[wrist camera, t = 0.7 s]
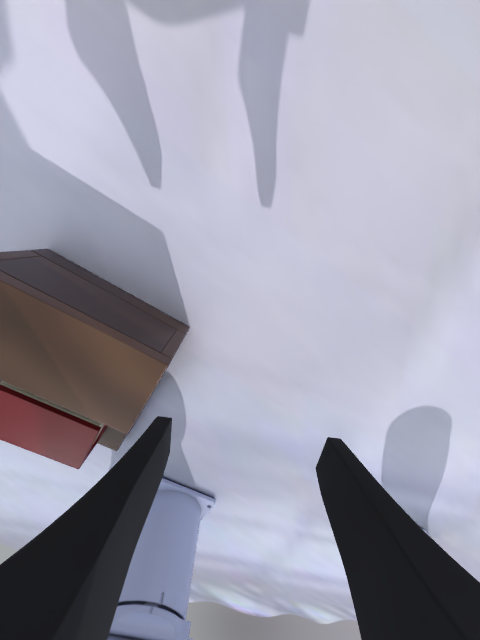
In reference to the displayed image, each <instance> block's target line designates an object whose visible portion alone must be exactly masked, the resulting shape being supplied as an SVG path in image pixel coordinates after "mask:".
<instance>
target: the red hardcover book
mask: <svg viewBox="0 0 480 640" xmlns="http://www.w3.org/2000/svg"><path fill="white" fill-rule="evenodd" d="M106 427H107V425H105V424H102V423H100V422H98V421H95V420H93V419H91V418H88V417H86V416H84V415H81V414H79V413H77V412H74V411H72V410H69V409H67V408H65V407H62V406H60V405H58V404H55V403H53V402H51V401H48V400H46V399H44V398H41V397H39V396H37V395H34V394H32V393H30V392H27V391H25V390H23V389H20V388H18V387H16V386H13V385H11V384H9V383H6V382H4V381H1V382H0V440H3V441H5V442H8V443H11V444H13V445H16V446H18V447H21V448H24V449H26V450H29V451H32V452H34V453H37V454H39V455H42V456H45V457H47V458H50V459H53V460H55V461H58V462H60V463H63V464H66V465H68V466H71V467H74V468H76V469H79V468H80V467H81V465H82V464H83V463H84V461H85V460H86V458H87V457H88V455H89V454H90V452H91V451H92V450H93V448H94V447H95V445H96V444H97V442H98V441H99V440H100V438H101V436H102V434H103V432H104V430H105V428H106Z"/></svg>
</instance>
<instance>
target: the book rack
mask: <svg viewBox="0 0 480 640" xmlns="http://www.w3.org/2000/svg"><path fill="white" fill-rule="evenodd" d="M189 328H190V327H188V326H187V325H185V324H183V323H181V322H179V321H178V320H176V319H174V318H172V317H170V316H169V315H167V314H165V313H163V312H161V311H159V310H158V309H156V308H154V307H152V306H150V305H149V304H147V303H145V302H143V301H141V300H140V299H138V298H136V297H134V296H132V295H130V294H129V293H127V292H125V291H123V290H121V289H120V288H118V287H116V286H114V285H112V284H110V283H109V282H107V281H105V280H103V279H101V278H100V277H98V276H96V275H94V274H92V273H91V272H89V271H87V270H85V269H83V268H81V267H80V266H78V265H76V264H74V263H72V262H71V261H69V260H67V259H65V258H63V257H62V256H60V255H58V254H56V253H54V252H52V251H51V250H49V249H38V250H31V251H30V250H25V251H10V252H0V382H1V381H4V382H6V383H9V384H11V385H13V386H16V387H18V388H20V389H23V390H25V391H27V392H30V393H32V394H34V395H37V396H39V397H41V398H44V399H46V400H48V401H51V402H53V403H55V404H58V405H60V406H62V407H65V408H67V409H69V410H72V411H74V412H77V413H79V414H81V415H84V416H86V417H88V418H91V419H93V420H95V421H98V422H100V423H102V424H105V425H107V427H106V428H105V430H104V432H103V434H102V436H101V438H100V440H99V441H98V442H97V443H98V444H101V445H103V446H106V447H108V448H110V449H113V450H115V451H117V450H118V449H119V447H120V446H121V444H122V442H123V441H124V439H125V437H126V435H127V434H128V433H129V432H130V430H131V428H132V427H133V425H134V423H135V422H136V420H137V418H138V417H139V415H140V413H141V411H142V410H143V408H144V406H145V405H146V403H147V401H148V400H149V398H150V396H151V395H152V393H153V391H154V389H155V388H156V386H157V384H158V383H159V381H160V379H161V378H162V376H163V374H164V373H165V371H166V369H167V367H168V366H169V364H170V362H171V360H172V359H173V357H174V355H175V353H176V352H177V350H178V348H179V346H180V344H181V343H182V341H183V339H184V337H185V335H186V334H187V332H188V330H189Z"/></svg>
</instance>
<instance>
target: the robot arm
mask: <svg viewBox="0 0 480 640" xmlns="http://www.w3.org/2000/svg"><path fill="white" fill-rule="evenodd" d="M171 425H172V418H167V417H159V416H158V417H157V418H155V420H154V421H153V422H152V424H151V425H150V426H149V427H148V429H147V430H146V431H145V432H144V433H143V435H142V436H141V437H140V438H139V439H138V440H137V442H136V443H135V444H134V445H133V446H132V447H131V448H130V449H129V451H128V452H127V453H126V454H125V455H124V456H123V457H122V458H121V459H120V460H119V461H118V462H117V463H116V465H115V466H114V467H113V468H112V469H111V470H110V471H109V472H108V473H107V474H106V475H105V476H104V477H103V478H102V479H101V480H100V481H99V482H98V483H97V484H96V485H94V486H93V487H92V488H91V489H90V490H89V491H88V492H87V493H86V494H85V495H84V496H83V497H82V498H81V499H79V500H78V501H77V502H76V503H75V504H74V505H73V506H72V507H71V508H69V509H68V510H67V511H66V512H65V513H64V514H62V515H61V516H60V517H59V518H58V519H57V520H55V521H54V522H53V523H52V524H51V525H50V526H48V527H47V528H46V529H45V530H44V531H42V532H41V533H40V534H39V535H38V536H36V537H35V538H34V539H33V540H31V541H30V542H29V543H28V544H26V545H25V546H24V547H23V548H21V549H20V550H19V551H17V552H16V553H15V554H14V555H12V556H11V557H10V558H8V559H7V560H6V561H4V562H3V563H2V564H1V565H0V640H193V639H189V633H190V625H191V622H190V621H186V614H187V608H188V601H189V594H190V587H191V580H192V573H193V567H194V560H195V553H196V546H197V539H198V532H199V525H200V521H201V520H202V519H203V518H204V517H205V515H206V514H207V513H208V512H209V511H210V510H211V509H212V508H213V507H214V506H215V503H216V500H215V499H213V498H211V497H209V496H206V495H204V494H201V493H199V492H196V491H194V490H191V489H189V488H186V487H184V486H181V485H179V484H176V483H174V482H171V481H169V480H166V479H164V478H162V477H163V474H164V470H165V467H166V463H167V460H168V456H169V453H170V442H171ZM316 472H317V477H318V482H319V487H320V491H321V495H322V499H323V502H324V505H325V508H326V512H327V515H328V518H329V521H330V524H331V527H332V530H333V534H334V537H335V540H336V543H337V546H338V549H339V552H340V555H341V558H342V562H343V565H344V569H345V572H346V576H347V579H348V583H349V587H350V592H351V596H352V600H353V604H354V608H355V612H356V616H357V621H358V625H359V630H360V634H361V639H362V640H480V583H479V582H478V581H477V580H476V579H475V578H474V577H473V576H472V575H470V574H469V573H468V572H467V571H466V570H465V569H464V568H463V567H461V566H460V565H459V564H458V563H457V562H456V561H455V560H454V559H453V558H452V557H451V556H449V555H448V554H447V553H446V552H445V551H444V550H443V549H442V548H441V547H440V546H439V545H438V544H437V543H436V542H435V541H434V540H433V539H432V538H431V537H430V536H429V535H428V534H427V533H425V532H424V531H423V530H422V529H421V528H420V527H419V526H418V525H417V524H416V523H415V522H414V521H413V519H412V518H411V517H410V516H409V515H408V514H407V513H406V512H405V511H404V510H403V509H402V508H401V507H400V506H399V505H398V504H397V503H396V502H395V500H394V499H393V498H392V497H391V496H390V495H389V494H388V493H387V492H386V491H385V490H384V488H383V487H382V486H381V485H380V484H379V483H378V482H377V480H376V479H375V478H374V477H373V476H372V475H371V474H370V472H369V471H368V470H367V469H366V468H365V467H364V465H363V464H362V463H361V462H360V461H359V460H358V458H357V457H356V456H355V455H354V454H353V453H352V451H351V450H350V449H349V448H348V447H347V446H346V444H345V443H344V442H343V441H342V440H341V439H338V438H330V437H328V438H327V440H326V443H325V446H324V448H323V451H322V453H321V456H320V458H319V461H318V463H317V466H316Z"/></svg>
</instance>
